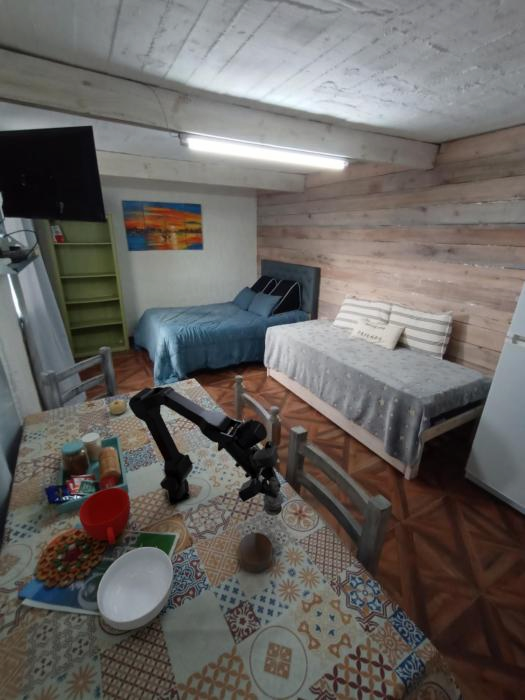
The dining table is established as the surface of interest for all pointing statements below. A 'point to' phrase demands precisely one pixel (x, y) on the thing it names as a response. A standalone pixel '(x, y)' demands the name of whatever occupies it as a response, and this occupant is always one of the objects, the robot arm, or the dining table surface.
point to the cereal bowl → (135, 588)
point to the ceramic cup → (105, 514)
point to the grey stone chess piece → (272, 503)
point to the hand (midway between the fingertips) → (278, 492)
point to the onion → (117, 406)
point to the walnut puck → (255, 552)
